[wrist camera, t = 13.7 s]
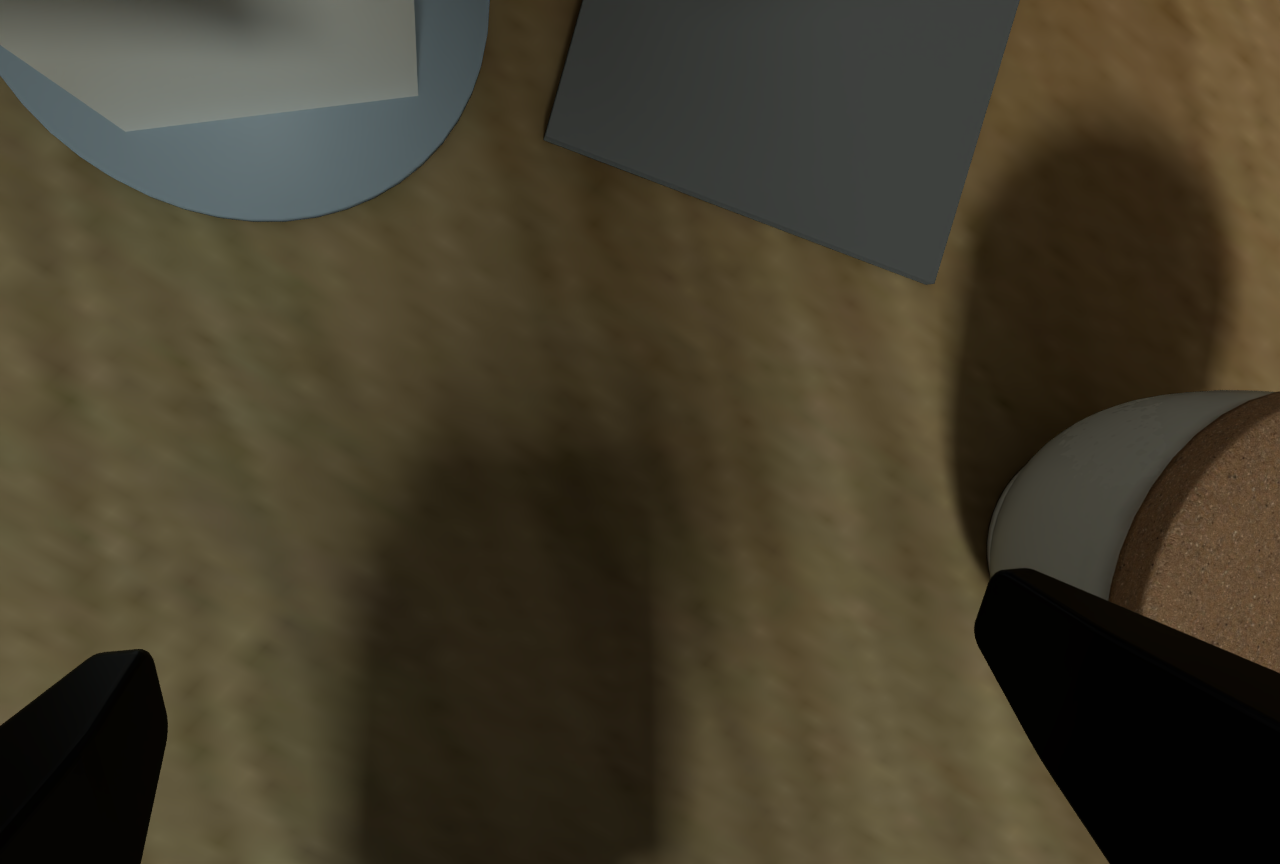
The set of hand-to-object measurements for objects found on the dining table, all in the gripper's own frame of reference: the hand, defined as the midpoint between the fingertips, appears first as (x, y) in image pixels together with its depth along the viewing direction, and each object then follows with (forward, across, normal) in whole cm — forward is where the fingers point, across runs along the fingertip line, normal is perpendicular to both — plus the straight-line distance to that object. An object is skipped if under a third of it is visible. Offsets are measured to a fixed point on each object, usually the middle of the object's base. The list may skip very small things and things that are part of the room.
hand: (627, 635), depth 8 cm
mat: (+16, -8, -7) cm, 20 cm away
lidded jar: (+11, -18, +8) cm, 23 cm away
